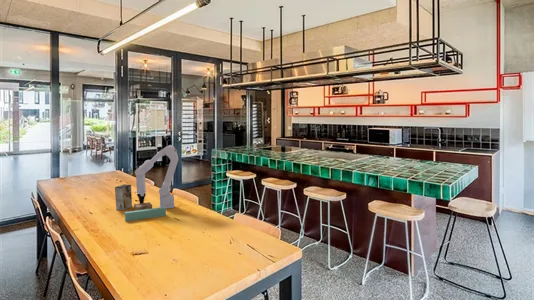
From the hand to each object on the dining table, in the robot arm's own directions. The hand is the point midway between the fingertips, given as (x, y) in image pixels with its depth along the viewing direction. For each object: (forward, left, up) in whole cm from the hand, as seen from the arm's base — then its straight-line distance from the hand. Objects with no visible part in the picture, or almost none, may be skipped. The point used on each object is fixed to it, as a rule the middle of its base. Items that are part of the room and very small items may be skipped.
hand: (141, 203), depth 217 cm
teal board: (0, +24, -3) cm, 24 cm away
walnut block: (0, +9, -3) cm, 10 cm away
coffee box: (+11, -5, -3) cm, 12 cm away
